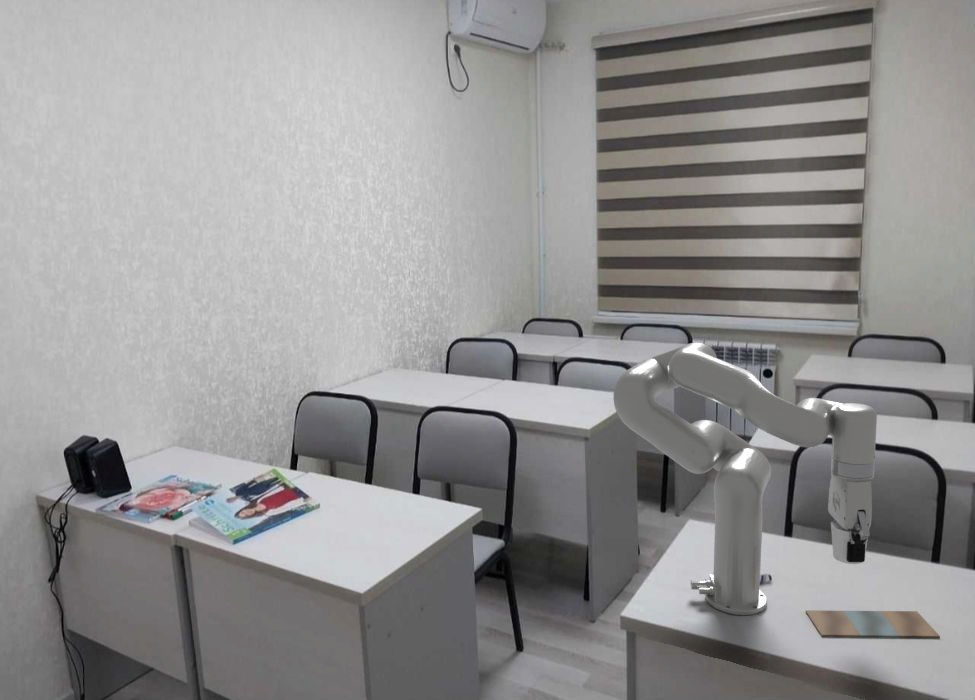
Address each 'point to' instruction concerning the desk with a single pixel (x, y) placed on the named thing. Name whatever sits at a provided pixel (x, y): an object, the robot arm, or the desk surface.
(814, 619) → the game board
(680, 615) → the desk surface
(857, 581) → the desk surface
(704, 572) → the desk surface
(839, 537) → the white cup
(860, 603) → the desk surface
